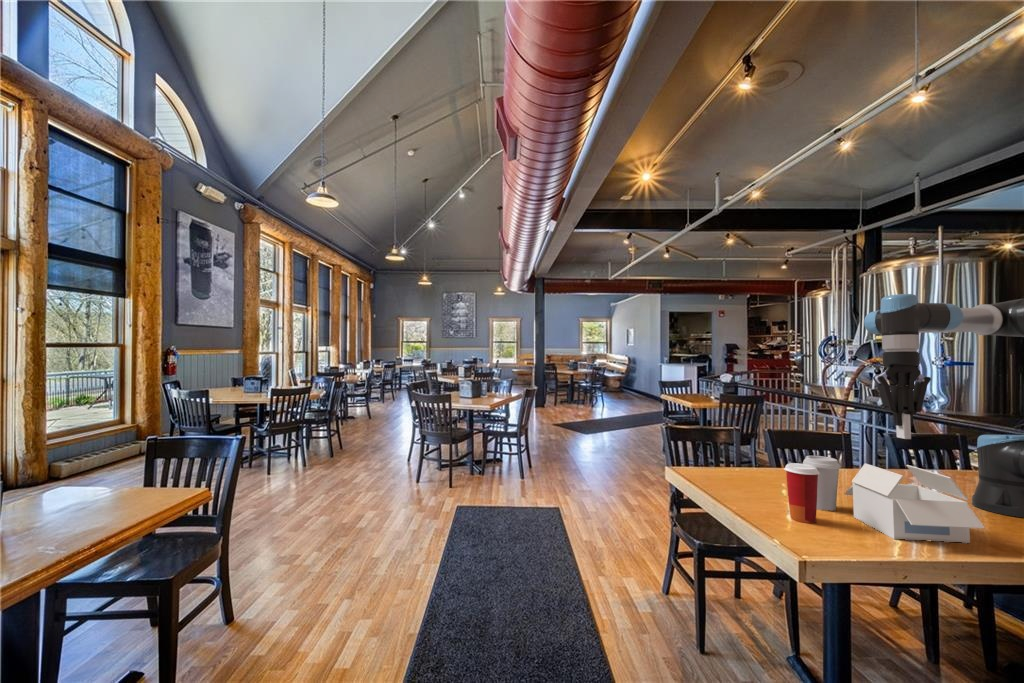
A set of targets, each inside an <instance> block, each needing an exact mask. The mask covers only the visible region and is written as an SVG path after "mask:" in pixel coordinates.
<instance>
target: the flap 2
mask: <svg viewBox="0 0 1024 683" xmlns="http://www.w3.org/2000/svg"><path fill="white" fill-rule="evenodd" d="M905 467H907V469H908V470H909V472H911V474H912V475H913V476H914V478H915V479H916V480H917V482H918V483H919V484H920V486H922V487H925V488H928V489H931V490H934V491H936V492H939V493H942V494H945V495H948V496H951V497H954V498H957V499H960V500H963V501H964V500H965V501H969V498H968V497H967V496H966V494H964V492H963V490H962V489H961V488H960V486H958V484H957V483H956V481H954V479H953V478H952V477H951V476H948V475H944V474H941V473H937V472H934V471H930V470H927V469H924V468H919V467H917V466H913V465H909V464H906V466H905Z"/></svg>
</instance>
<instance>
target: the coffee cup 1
mask: <svg viewBox="0 0 1024 683" xmlns="http://www.w3.org/2000/svg"><path fill="white" fill-rule="evenodd" d="M783 470H784V471H785V474H786V485H787V486H786V487H787V496H788V499H787V500H788V506H789V516H790V519H791V520H793V521H796V522H799V523H803V524H816V522H817V510H818V509H817V486H818V474H819V472H818V470H817V468H816V467H815V466H811V465H807V464H803V463H795V462H792V463H791V462H789V463H787V464H786V465H785V467H784V468H783Z"/></svg>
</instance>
